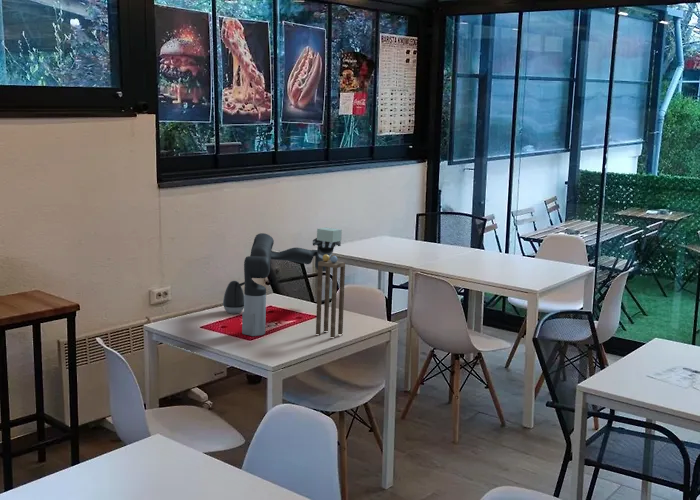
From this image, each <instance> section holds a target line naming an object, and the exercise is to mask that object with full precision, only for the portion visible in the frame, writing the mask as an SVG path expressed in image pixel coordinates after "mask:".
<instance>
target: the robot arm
mask: <svg viewBox="0 0 700 500" xmlns="http://www.w3.org/2000/svg"><path fill="white" fill-rule="evenodd" d="M274 241H275V240H274V237H272V235H270V234H268V233H263V232H262V233H261V232H260V233H257V234H256V235H255V237H254V239H253V243H252V247H251V249H250V250H251V251H250V255H247V256H246V257H245V258H244V262H243V274H244V276H243V277H244V282H245V284H244V291H243V293H244V308H243V312H242V313H241V316H242V318H241V319H242V320H241V324H242V325H241V333H242V335H247V336H251V337H256V336H257V337H258V336H263V335H265V334H266V324H267V323H266V320H267V319H266V318H267V316H266V314H267V313H266V312H267V311H266V310H267V287H265V286H264V285H262V284H259V283H257V282H256V281H254V280H253V279H266V278H268V277H269V275H270V271H271V260H274V261H275V260H278V261H287V262H295V263H299V264H303V265H310V264H311V263H313V259H314V257H315V263H314V266H315V269H316V270H317V271H318V262H320V261H324V260H323V259H322V257H323V255H325V254H327V255H329V257H330V258H329V260H330V259H331V257H332V256H333V252H334V249H335V247H336V246H337V247H341V246H342V245H341V242H342V240H341V241H338V242H326V241H320V240H317V237H315V238H314V239H313V240H312V246H314V247H315V246H317V248H316V249H306V248H302V247H291V248H288V249H285V250H282V251H278V252H277V251H276V252H274V251H272V250H273V246H274V243H275V242H274ZM323 272H326V267H325V266H323Z"/></svg>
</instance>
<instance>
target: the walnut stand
mask: <svg viewBox="0 0 700 500" xmlns="http://www.w3.org/2000/svg"><path fill="white" fill-rule="evenodd" d="M323 266H325V267H326V271H325V276H324V277H325V279H324V280H325V283H324V305H323V307H324V309H323V310H324V311H323V332H324V331H328V332H329V314H330V335H329V336H330V337H335V338H336V315H337V314H336V313H337V292H338V291H337V288H338V269H340V271H339V293H338V294H339V296H338V298H339V299H338V319H337V320H338V321H337V322H338V323H337V324H338V325H337V335H338V334H342V333H343V330H344V329H343V328H344V327H343V326H344V325H343V324H344V306H345V305H344V304H345V303H344V302H345V300H344V299H345V279H346V278H345V277H346V275H345V274H346V261H345V262H344V261H343V262H342V261H338V260H337V262H336V263H332V262H331V260H328V261H320V262H318V270H317V282H316V283H317V285H316V287H317V288H316V290H317V291H316V292H317V293H316V316H315V317H316V318H315V323H316V325H315V335H316V334H320V335H321V330H322V328H321V326H322V325H321V323H322V301H323V299H322V298H323V295H322V294H323V273H324V271H323ZM331 269H332V277H331ZM331 278H332V281H331ZM330 283H331V284H330ZM330 286H331V303H330ZM330 304H331V305H330ZM330 307H331V309H330ZM330 311H331V312H330ZM342 335H343V334H342ZM330 337H329V338H330Z"/></svg>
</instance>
